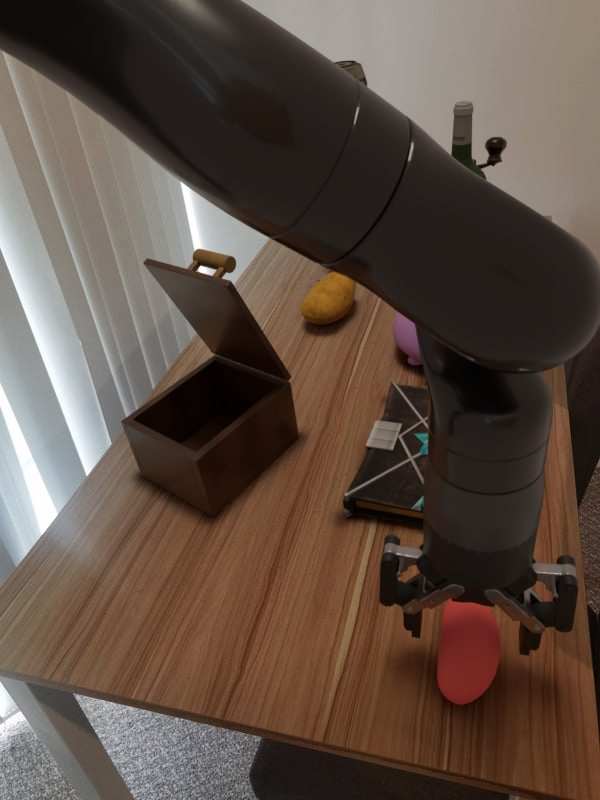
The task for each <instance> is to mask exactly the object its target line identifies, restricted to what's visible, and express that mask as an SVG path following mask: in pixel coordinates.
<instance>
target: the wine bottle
mask: <svg viewBox="0 0 600 800" xmlns="http://www.w3.org/2000/svg"><path fill="white" fill-rule="evenodd" d="M452 112H453V113H452V114H453V125H452V138H451V153H450V155H451V156H453V157H454V158H455V159H456V160H457V161H458V162H460V163H461V164H462V165H464V166H465V167H466V168H468V169H469V170H471V171H472V172H474V173H475V174H477V175H479V176H480V177H482V178H483V179H485V180H487V176H486V174H485V172H484V171H483V170H482V169H480V168H479V167H478V166H477V165H478V164H477V163H476V164H475V163H474V162H473V159H474V158H473V113H474V105H473V101H471V100H460V101H457V102H455V103H454V106H453V111H452Z"/></svg>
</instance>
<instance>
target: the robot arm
mask: <svg viewBox="0 0 600 800" xmlns="http://www.w3.org/2000/svg"><path fill="white" fill-rule="evenodd" d="M0 51H1V52H3V53H5V54H7V55H9V56H11V57H12V58H14V59H16V60H17V61H19V62H21V63H22V64H24V65H26V66H27V67H29V68H30V69H32V70H34V71H35V72H37V73H38V74H40V75H41V76H43V77H44V78H46V79H47V80H49V81H50V82H51V83H53V84H54V85H56V86H57V87H59V88H61V89H62V90H64V91H65V92H67V93H68V94H69V95H71V96H72V97H74V98H75V99H76V100H78V101H79V102H81V104H83V105H84V106H86V107H87V108H88V109H89V110H90V111H92V112H93V113H95V114H96V115H98V116H99V118H101V119H103V120H104V121H105V122H106V123H107V124H108V125H110V126H111V127H112V128H114V130H116V131H117V132H118V133H119V134H121V135H122V136H123V137H124V138H126V140H128V141H129V142H130V143H132V144H133V145H134V146H135V147H137V148H138V149H139V150H140V151H141V152H143V153H144V154H145V155H146V156H148V157H149V158H150V159H151V160H153V162H155V163H156V165H157V164H158V165H159V166H160V167H161V168H162V169H164V170H165V171H166V172H168V173H169V174H170V175H171V176H172V177H174V178H175V179H177V180H178V181H179V182H181V183H182V184H183V185H185V187H188V189H190V190H191V191H193V192H194V193H195V194H197V195H198V196H200V197H202V198H203V199H204V200H206V201H207V202H208V203H210V204H212V205H213V206H215V207H216V208H218V209H219V210H221V211H223V212H224V213H226V214H227V215H228V216H230V217H232V218H234V219H235V220H237V221H239V222H241V223H242V224H244V225H245V226H247V227H249V228H250V229H252V230H254V231H256V232H258V233H259V234H261V235H263V236H265V237H267V238H268V239H271V240H272V241H274V242H276V243H278V244H280V245H282V246H284V247H285V248H287V249H289V250H291V251H293V252H295V253H296V254H298V255H300V256H302V257H304V258H306V259H308V260H309V261H311V262H313V263H315V264H318V265H320V267H323V268H325V269H327V270H330V271H332V272H336V273H338V274H341V275H343V276H345V277H347V278H349V279H351V280H353V281H355V282H356V283H357V284H358V285H360V286H361V287H363V288H365V289H366V290H367V291H369V292H371V293H372V294H373V295H375V296H377V297H378V298H379V299H381V301H383V302H384V303H386V304H387V305H388V306H389V307H391V308H392V309H393V310H395V311H396V313H397V312H399V313H400V314H401V315H403V316H404V317H406V318H407V319H408V320H410V321H411V322H413V323H414V324H415V329H416V334H417V340H418V345H419V351H420V356H421V361H422V364H421V365H422V369H423V374H424V377H425V382H426V388H428V393H429V407H428V453H427V460H426V465H425V470H424V482H423V494H424V504H423V526H422V527H423V529H422V530H423V532H422V533H423V538H422V541H423V542H422V543H421V544H420V546H418V547H412V546H407V545H401V539H400V537H399V536H397V535H394V534H388V535H386V536H385V537H384V542H383V547H382V552H381V559H380V562H379V563H380V565H379V598H378V601H379V604H380V605H382V606H384V607H393V606H394V605H397V606H399V607H401V611H402V617H403V628H404V629H405V631H409V632H411V638H414V639H415V638H416V639H421V633H422V625H423V610H425V609H426V608H428V609H430V610H433V609H435V608H436V607H439V606H440V605H442V604H443V603H446V602H448V601H449V600H450V599H452V601H454V602H461V603H476V604H479V605H483V606H487V607H488V608H489V607H490V608H495V605H496V606H497V607H498V608H499V609H501V610H502V611H503V612H504V613H505V615H506V616H508V617H509V618H510V619H511V620H512V621H513V622H518V621H519V627H518V654H519V655H522V656H527V657H529V656H530V652H531V651H534V652H536V651H537V650H538V649H540V646H541V641H542V636H543V633H545V632H546V629H547V628H554V629H555V630H556V631H557V632H560V633H562V634H563V633H570V632H572V631H573V630H574V628H573V627H574V623H575V616H576V610H577V609H576V608H577V602H578V597H579V596H578V595H579V583H578V573H577V566H576V565H577V564H576V559H575V558H574V557H573V556H571V555H565V554H564V555H560V556H558V557H557V559H556V563H549V562H548V563H547V562H537V561H536V559H535V558H534V555H535V554H534V553H535V549H536V542H537V538H538V533H539V525H540V522H541V521H540V519H541V515H542V509H543V502H544V497H545V488H546V485H545V484H546V481H545V477H546V476H545V467H546V460H547V453H548V448H549V441H550V437H551V430H552V424H553V415H554V403H553V396H552V392H551V387H550V386H549V383H548V381H547V380H546V378H545V377H544V375H543V374H542V372H545V371H550V370H552V369H554V368H557V367H559V366H561V365H563V364H565V363H567V362H569V361H570V360H571V359H574V358H575V357H576V356H577V355H578V354H580V353H581V352H582V350H584V349H585V348H586V347H587V346H588V345H589V343H590V342H591V341H592V340H593V339H594V337H595V336H596V333H597V332H598V330H599V328H600V263H599V261H598V259H597V257H596V255H595V254H594V253H593V251H591V249H590V248H589V247H588V246H587V245H586V244H585V242H583V241H582V240H580V239H579V238H578V237H577V236H575V235H573V234H572V233H571V232H569V231H567V230H566V229H565V228H563V227H561V226H560V225H558V224H556V223H555V222H553V221H552V220H550V219H549V218H547V217H545V216H544V215H543V214H542V213H539V212H538V211H536V210H535V209H533V208H532V207H530V206H529V205H527V204H525V203H524V202H522V201H521V200H519V199H518V198H516V197H514V196H513V195H511V194H510V193H508V192H506V191H505V190H503V189H501V188H500V187H499V186H497V185H495V184H493V183H492V182H490V181H489V180H488V179H486V180H485V179H483V178H482V177H480V176H479V175H477V174H475V173H474V172H472V171H471V170H469V169H468V168H466V167H465V166H464V165H462V164H461V163H460V162H458V161H457V160H456V159H455V158H454V157H453V156H451V153H449V151H448V150H446V149H445V148H444V147H443V146H442V145H441V144H440V143H438V142H437V140H435V139H434V138H433V136H431V135H430V134H429V133H428V132H427V131H425V129H423V128H422V127H421V126H420V125H419V124H417V123H416V122H415V121H414V120H412V119H411V118H410V117H409V116H408V115H405V113H404V112H402V111H401V110H400V109H398V108H397V107H395V106H394V105H393V104H391V103H390V102H389V101H388V100H386V99H384V98H383V97H382V96H381V95H379V94H378V93H377V92H376V91H374V90H373V89H371V88H370V87H368V85H367V86H366V85H364V84H363V83H361V82H360V81H359V80H357V79H356V78H354V77H353V76H352V75H351V74H349V73H348V72H346V71H345V70H344V69H342V68H341V67H339V66H338V65H337V64H335V63H334V62H335V61H332V60H331V59H330V58H328V57H327V56H325V55H324V54H322V53H321V52H319V50H317V49H316V48H314V47H313V46H311V45H309V44H308V43H306V41H303V40H302V39H301V38H299V37H298V36H297V35H295V34H293V33H291V31H288V29H286V28H284V27H283V26H281V25H280V24H278V23H277V22H275V21H274V20H272V19H271V18H270V17H268V16H266V15H265V14H263V13H261V12H260V11H258V10H257V9H255V8H254V7H253V6H251V5H250V4H248V3H246V2H244V1H243V0H0ZM412 566H416V568H417V570H418V573H416V574H415V575H413V576H412V577H411V578H409V579H408V580H406V581H403V580H399V578H401V577H403V573H405V572H407V571H408V569H409V568H410V567H412ZM537 582H541V583H542V584H544V586H545V589H546V590H547V591H549V592H550V593H551V597H552V600H547V601H544V600H543V598H542V597H541V596H540V595H539V594H538V593H537V592H536V591H535V590H534V589H533V587H534V586H535V585H536V583H537Z"/></svg>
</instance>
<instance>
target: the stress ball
mask: <svg viewBox="0 0 600 800" xmlns="http://www.w3.org/2000/svg"><path fill="white" fill-rule="evenodd" d="M499 628H500V627H499V624H498V622H497V619H496V617H495V615H494V614H493V612H492V611H491V609H490V608H489V606H483V605H479V604H476V603H461V602H454V601H452V599H451V598H450V599H448V600H447V601H446V602H445V605H444V607H443V610H442V616H441V637H440V643H439V648H438V657H437V667H436V676H437V677H436V678H437V679H436V680H437V685H438V688H439V690H440V692H441V694H442V695H443V696H444V697H445V699H447V700H448V701H450V702H452V703H453V704H456V705H462V706H463V705H467V704H469V703H472V702H474V701H475V700H476V699H478V698H479V697H481V696H482V695H483V694H484V693H485V692H486V690H487V689H488V688H489V687H490V686H491V684H492V682H493V680H494V679H495V677H496V674H497V670H498V668H499V663H500V660H501V651H502V640H501V633H500V629H499Z"/></svg>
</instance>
